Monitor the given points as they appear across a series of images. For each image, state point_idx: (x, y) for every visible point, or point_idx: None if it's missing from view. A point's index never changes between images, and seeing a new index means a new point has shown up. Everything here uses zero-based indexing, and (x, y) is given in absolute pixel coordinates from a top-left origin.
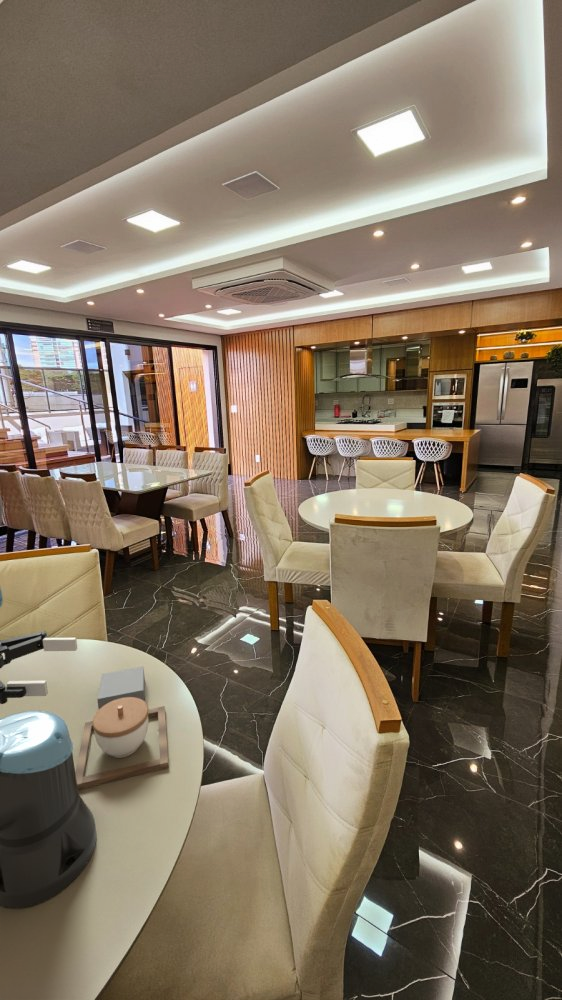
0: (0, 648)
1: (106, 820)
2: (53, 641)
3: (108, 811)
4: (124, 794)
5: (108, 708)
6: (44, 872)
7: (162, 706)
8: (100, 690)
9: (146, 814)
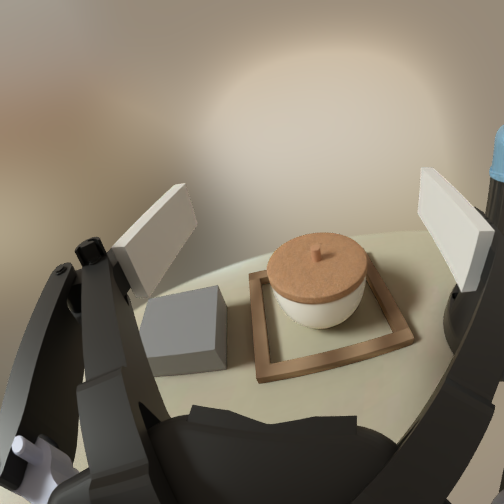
0: (92, 418)
1: (443, 287)
2: (153, 226)
3: (433, 290)
4: (408, 283)
5: (299, 279)
6: None
7: (249, 275)
8: (187, 350)
9: (426, 256)
